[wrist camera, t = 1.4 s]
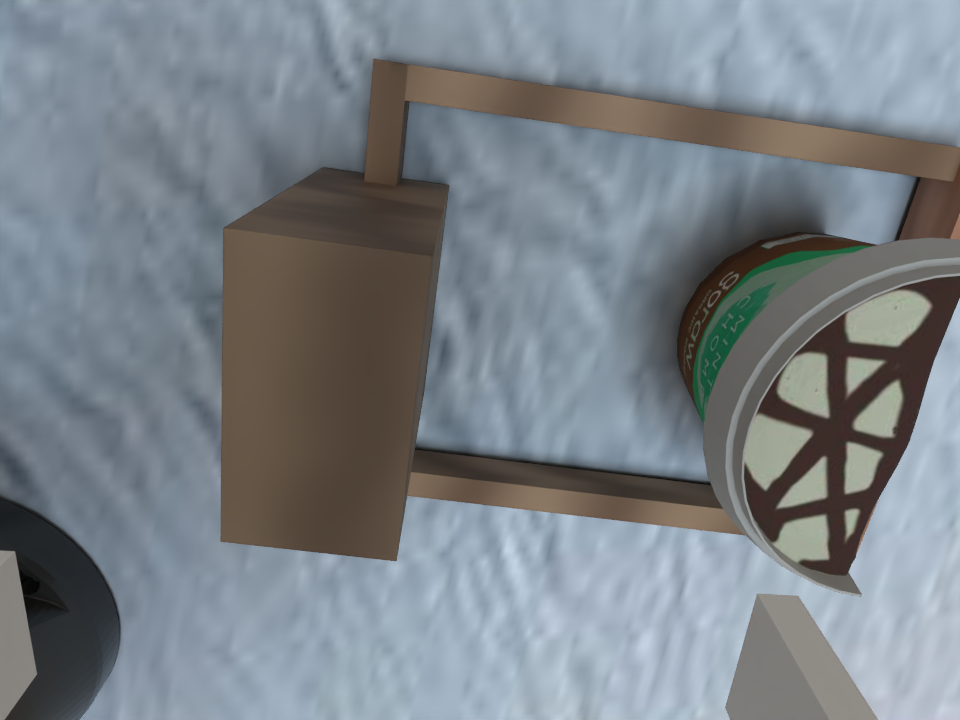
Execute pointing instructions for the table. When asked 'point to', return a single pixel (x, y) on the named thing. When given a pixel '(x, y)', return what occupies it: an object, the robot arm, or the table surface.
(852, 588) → the food container
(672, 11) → the table surface
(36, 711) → the robot arm
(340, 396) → the walnut bed frame
